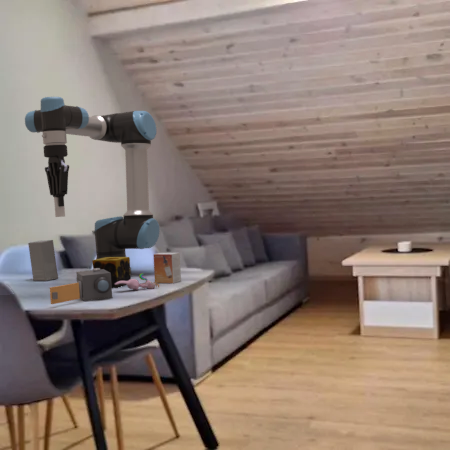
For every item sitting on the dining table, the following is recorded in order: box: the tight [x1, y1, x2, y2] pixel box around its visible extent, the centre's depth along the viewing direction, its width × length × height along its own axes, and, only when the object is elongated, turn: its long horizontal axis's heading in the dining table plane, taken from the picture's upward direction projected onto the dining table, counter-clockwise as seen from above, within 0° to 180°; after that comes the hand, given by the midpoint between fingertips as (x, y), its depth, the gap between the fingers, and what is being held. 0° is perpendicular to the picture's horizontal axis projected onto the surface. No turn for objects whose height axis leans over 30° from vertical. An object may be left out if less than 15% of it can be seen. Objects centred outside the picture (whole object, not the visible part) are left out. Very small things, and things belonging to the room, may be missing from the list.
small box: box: [153, 252, 182, 284], centre depth 237 cm, size 8×6×10 cm
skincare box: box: [27, 239, 59, 282], centre depth 264 cm, size 8×7×16 cm
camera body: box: [75, 268, 113, 302], centre depth 212 cm, size 14×9×9 cm, turn 21°
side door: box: [49, 281, 82, 305], centre depth 202 cm, size 11×2×5 cm, turn 139°
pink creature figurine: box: [115, 273, 160, 291], centre depth 223 cm, size 6×6×15 cm
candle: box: [91, 256, 132, 289], centre depth 236 cm, size 10×10×10 cm
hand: (60, 216), depth 217 cm, fingers closed
